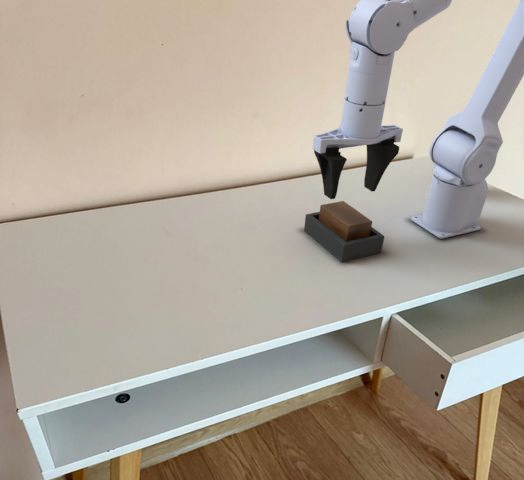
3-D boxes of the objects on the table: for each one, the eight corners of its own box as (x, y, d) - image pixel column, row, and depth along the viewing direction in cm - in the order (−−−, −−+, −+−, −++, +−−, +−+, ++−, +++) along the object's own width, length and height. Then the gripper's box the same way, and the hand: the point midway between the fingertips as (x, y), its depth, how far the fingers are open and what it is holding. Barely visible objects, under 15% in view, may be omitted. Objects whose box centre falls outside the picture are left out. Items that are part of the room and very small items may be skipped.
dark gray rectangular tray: (341, 223, 96) (344, 206, 94) (381, 252, 88) (384, 236, 86) (303, 230, 93) (305, 214, 91) (341, 262, 85) (344, 245, 83)
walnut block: (339, 225, 94) (343, 200, 91) (367, 247, 89) (372, 221, 86) (317, 230, 92) (320, 205, 89) (344, 252, 87) (348, 226, 84)
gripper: (388, 88, 83) (371, 176, 91) (305, 96, 77) (296, 189, 85) (419, 101, 78) (399, 193, 86) (334, 111, 72) (321, 208, 81)
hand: (349, 192), depth 86 cm, fingers open, 7 cm apart
